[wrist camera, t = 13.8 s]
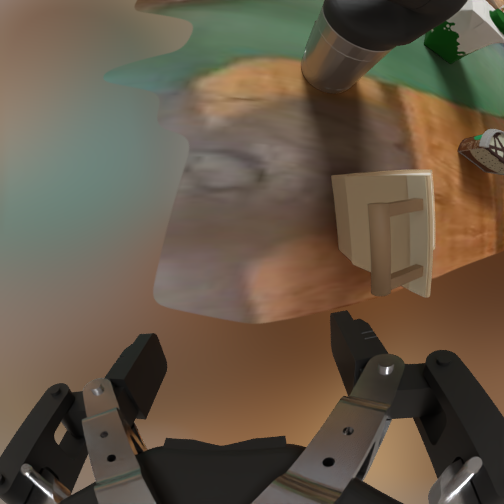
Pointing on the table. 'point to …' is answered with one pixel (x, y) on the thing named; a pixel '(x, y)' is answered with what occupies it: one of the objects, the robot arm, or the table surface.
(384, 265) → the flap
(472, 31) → the milk carton
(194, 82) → the table surface
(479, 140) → the food container
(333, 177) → the carton
